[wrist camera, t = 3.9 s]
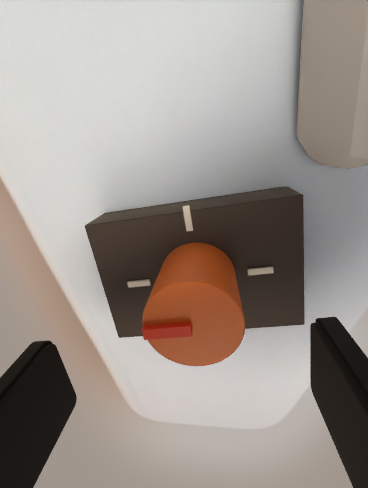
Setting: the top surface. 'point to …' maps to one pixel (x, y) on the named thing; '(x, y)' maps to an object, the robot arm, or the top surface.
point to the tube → (334, 82)
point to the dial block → (214, 233)
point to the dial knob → (195, 307)
